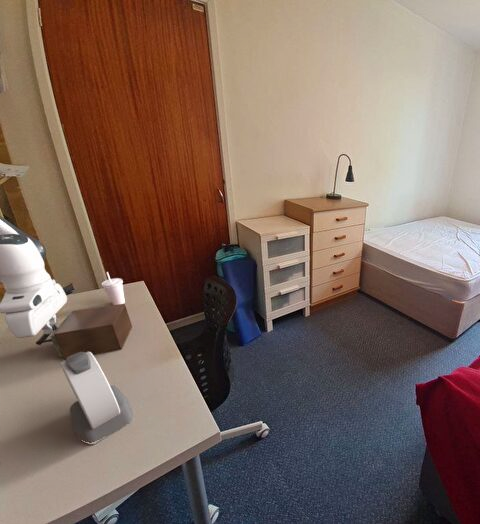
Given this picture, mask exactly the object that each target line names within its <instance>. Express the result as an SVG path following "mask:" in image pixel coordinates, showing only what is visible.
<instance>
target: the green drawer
mask: <svg viewBox="0 0 480 524" xmlns="http://www.w3.org/2000/svg"><path fill="white" fill-rule="evenodd" d="M69 316H70V314H68V315H67V316H66V318H64V320H62V322H61V323H60V324H59V325H58V326H57V328H56V329H55V331H54V332H53V333H52V334H45V333H43V334H41V336H40V337H39V338H38V340H37V341H35V345H37V346H41V345H43V344H45V343H51V342H52V343H53V345H54V347H55V349H56V351H57V353H58V356H59V357H60V358H65V357H64V355H63V353H62V351H61V349H60V347H59V345H58V343H57V340H56V338H55V336H54V333H55V332H56V331H57V330H58V328H59V327H60V326H61V325H62V324H63V323H64V321H65V320H66V319H67V318H68V317H69ZM49 337H50V338H49Z"/></svg>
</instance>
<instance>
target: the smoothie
mask: <svg viewBox="0 0 480 524" xmlns="http://www.w3.org/2000/svg"><path fill="white" fill-rule="evenodd" d="M106 276H107V279H106V280H104V281H102V282H101V287H102V288H103V289H104V291H105V293H106V294H107V296H108V298H109V300H110V301H111V303H112V305H118V304H126V299H125V294H124V293H125V291H124V285H123V283H124V281H123V279H122V278H121V277H120V278H119V277H115V278H111V277H110V274H109V271H106Z"/></svg>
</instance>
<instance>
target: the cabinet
mask: <svg viewBox="0 0 480 524" xmlns="http://www.w3.org/2000/svg"><path fill="white" fill-rule="evenodd" d="M69 315H70V316H69V317H68V318H67V317H66V318H67V319H66V318H65V319H66V320H65V319H64V320H65V321H64V320H63V321H64V323H63V324H62V325H61V324H60V325H61V326H60V325H59V326H60V327H59V326H58V327H59V328H58V327H57V328H58V330H57V331H56V332H55V333H54V332H53V333H54V336H55V338H56V340H57V343H58V345H59V347H60V349H61V351H62V353H63V355H64V357H63V358H64V359H65V360H66V359H67V357H69V356H71V355H74V354H76V353H78V352H85V353H86V352H91V353H92V354H93V356H96V355H100V354H106V353H111V352H117V351H121V350H123V348H124V345H125V343H126V341H127V339H128V337H129V334H130V333H131V331H132V329H133V324H132V321H131V319H130V315H129V312H128V309H127V305H126V303H124V304H118V305H113V304H112V305H105V306H99V307H91V308H85V309H84V308H83V309H78V310H77V309H76V310H73V311H72V312H71V313H70V314H69Z"/></svg>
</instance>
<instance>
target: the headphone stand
mask: <svg viewBox="0 0 480 524" xmlns="http://www.w3.org/2000/svg"><path fill="white" fill-rule="evenodd" d="M60 367H61V370H62V372H63V373H64V376H65V378H66V380H67V382H68V385H69V386H70V388H71V390H72V392H73V394H74V396H75V398H76V401H74V403H72V404H71V406H70V408H69V418H70V425H71V428H72V430H73V432H74V434H75V436H76V437H77V436H78V437H77V438H78V439H79V438H80V439H81V440H83V441H85V442H89V443H92V442H95V441H97V440H100V439H102V438H103V437H105V436H108V435H110V434H111V435H113V434H115V433H116V432H118V431H119V430H121V429H123V428H124V427H126V426H127V425H126V424H128V425H129V424H130V423H131V422H132V421H131V420H133V409H132V407H131V404H130V402H129V399H128V397H127V395H125V394H124V393H123V392H122V390H121V389H119V387H117V386H116V385H111V384H110V383H109V381H108V378H107V377H106V375H105V373H104V371H103V369H102V367H101V365H100V364H99V362H98V360H97V358H96V357H95V355H93V354H92V353H91V352H86V353H85V352H78V353H76V354H74V355H71V356H69V357H67V359H65V360H64V361H62V362H60ZM130 421H131V422H130ZM125 425H126V426H125ZM123 426H124V427H123ZM122 427H123V428H122ZM111 435H110V436H111ZM108 437H109V436H108ZM80 439H79V440H80ZM81 440H80V441H81Z"/></svg>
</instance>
